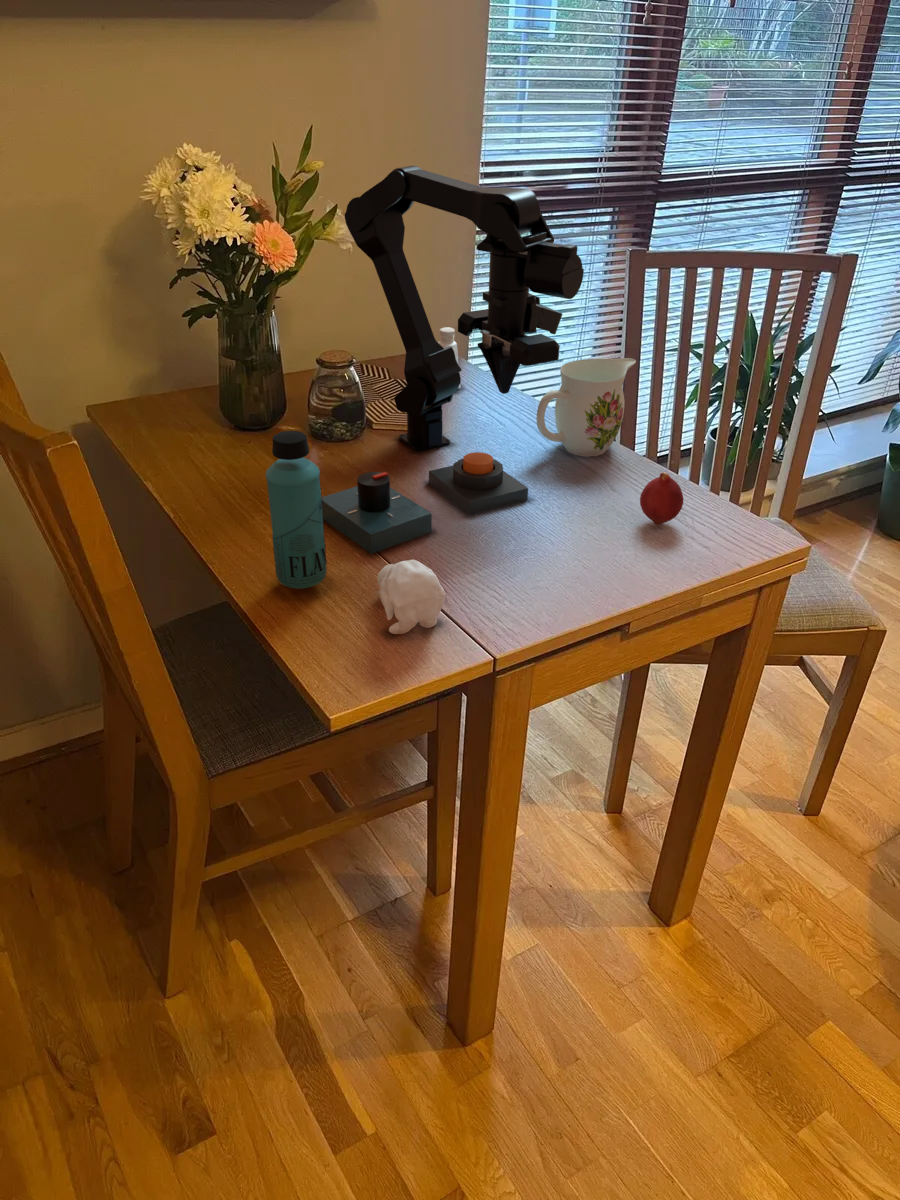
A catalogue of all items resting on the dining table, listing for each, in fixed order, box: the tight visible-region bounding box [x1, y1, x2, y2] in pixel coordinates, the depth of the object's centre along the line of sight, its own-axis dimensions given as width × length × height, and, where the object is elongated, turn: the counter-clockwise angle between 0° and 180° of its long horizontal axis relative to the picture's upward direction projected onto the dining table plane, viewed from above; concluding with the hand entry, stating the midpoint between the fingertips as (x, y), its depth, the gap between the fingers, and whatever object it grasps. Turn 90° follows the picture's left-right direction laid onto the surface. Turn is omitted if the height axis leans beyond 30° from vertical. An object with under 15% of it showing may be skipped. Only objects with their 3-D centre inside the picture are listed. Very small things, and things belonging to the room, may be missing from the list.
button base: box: [428, 458, 529, 516], centre depth 136 cm, size 12×10×4 cm
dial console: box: [321, 485, 433, 555], centre depth 128 cm, size 13×10×3 cm
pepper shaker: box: [437, 326, 462, 390], centre depth 171 cm, size 5×5×11 cm
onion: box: [639, 471, 684, 526], centre depth 127 cm, size 6×6×8 cm
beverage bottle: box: [265, 430, 329, 589], centre depth 109 cm, size 6×7×20 cm
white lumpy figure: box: [374, 559, 445, 635], centre depth 107 cm, size 6×8×12 cm
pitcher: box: [536, 357, 637, 457], centre depth 147 cm, size 11×18×14 cm, turn 119°
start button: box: [462, 451, 494, 474], centre depth 135 cm, size 4×4×2 cm
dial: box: [356, 471, 391, 512], centre depth 126 cm, size 4×4×4 cm
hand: (504, 392), depth 139 cm, fingers closed
